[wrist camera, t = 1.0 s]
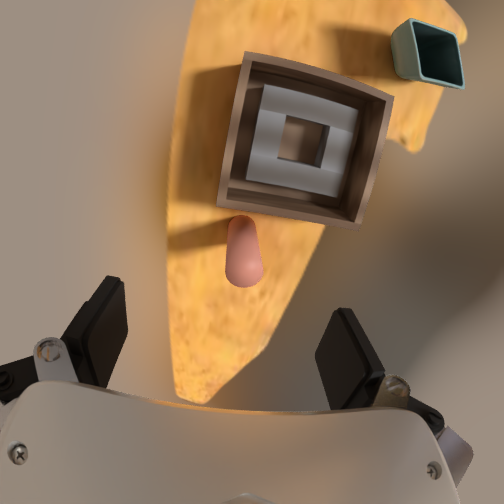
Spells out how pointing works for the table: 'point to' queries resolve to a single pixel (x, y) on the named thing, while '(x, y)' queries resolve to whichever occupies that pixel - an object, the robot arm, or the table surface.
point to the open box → (302, 143)
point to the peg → (243, 253)
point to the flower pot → (427, 54)
